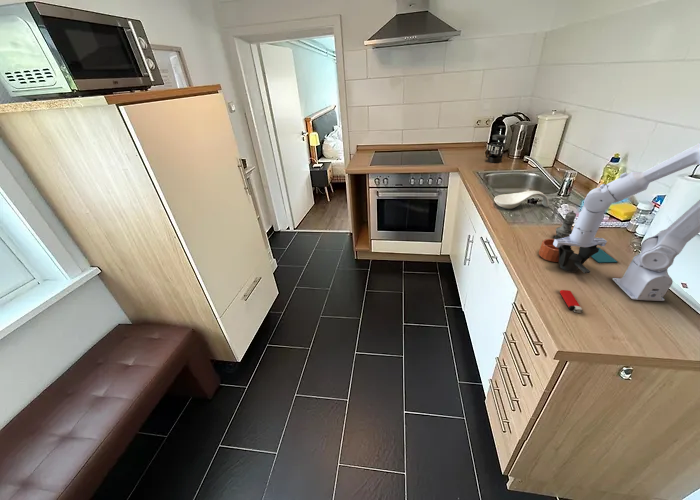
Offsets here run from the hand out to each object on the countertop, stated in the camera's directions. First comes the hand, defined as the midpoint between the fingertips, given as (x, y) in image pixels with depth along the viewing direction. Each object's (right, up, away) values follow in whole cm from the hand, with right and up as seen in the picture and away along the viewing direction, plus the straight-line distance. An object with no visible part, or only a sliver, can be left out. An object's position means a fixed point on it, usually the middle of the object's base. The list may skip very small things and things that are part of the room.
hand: (570, 264), depth 94 cm
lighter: (-10, -10, -13) cm, 19 cm away
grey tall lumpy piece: (+9, +9, +16) cm, 21 cm away
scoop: (0, -2, -1) cm, 3 cm away
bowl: (-1, +2, +7) cm, 7 cm away
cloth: (+14, +3, +6) cm, 16 cm away
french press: (+29, +67, +107) cm, 129 cm away
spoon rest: (+9, +25, +43) cm, 51 cm away
